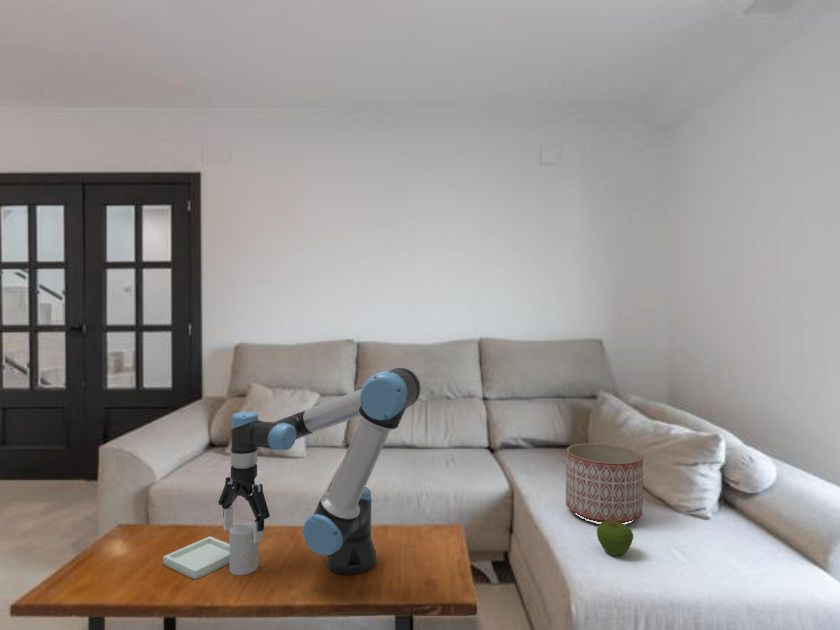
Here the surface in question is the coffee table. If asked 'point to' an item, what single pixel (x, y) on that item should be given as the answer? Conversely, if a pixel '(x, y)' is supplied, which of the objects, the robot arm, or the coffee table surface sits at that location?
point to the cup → (243, 549)
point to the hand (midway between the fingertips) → (242, 535)
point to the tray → (199, 558)
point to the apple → (614, 537)
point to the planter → (604, 482)
